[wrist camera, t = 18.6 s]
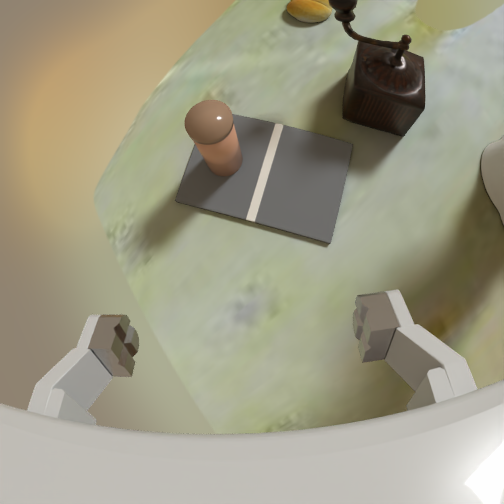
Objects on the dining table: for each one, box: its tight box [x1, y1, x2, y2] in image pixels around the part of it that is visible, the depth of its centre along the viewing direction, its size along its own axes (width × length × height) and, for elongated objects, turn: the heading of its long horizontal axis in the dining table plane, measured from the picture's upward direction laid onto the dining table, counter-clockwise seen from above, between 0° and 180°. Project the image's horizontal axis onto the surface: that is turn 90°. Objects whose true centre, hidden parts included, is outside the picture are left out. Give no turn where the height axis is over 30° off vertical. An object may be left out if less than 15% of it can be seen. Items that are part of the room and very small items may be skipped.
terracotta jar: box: [185, 100, 243, 176], centre depth 38 cm, size 5×5×12 cm
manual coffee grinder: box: [328, 0, 425, 136], centre depth 35 cm, size 16×11×18 cm
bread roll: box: [287, 0, 332, 23], centre depth 45 cm, size 8×9×4 cm
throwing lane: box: [175, 114, 353, 244], centre depth 44 cm, size 22×15×1 cm
